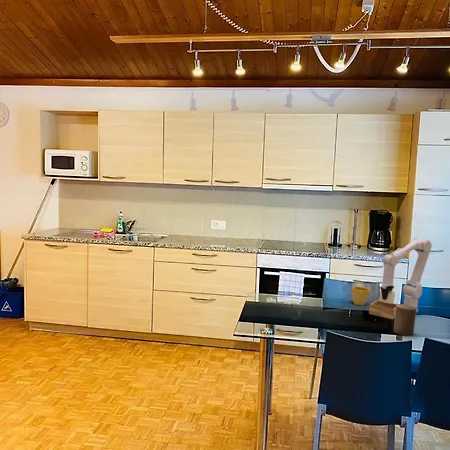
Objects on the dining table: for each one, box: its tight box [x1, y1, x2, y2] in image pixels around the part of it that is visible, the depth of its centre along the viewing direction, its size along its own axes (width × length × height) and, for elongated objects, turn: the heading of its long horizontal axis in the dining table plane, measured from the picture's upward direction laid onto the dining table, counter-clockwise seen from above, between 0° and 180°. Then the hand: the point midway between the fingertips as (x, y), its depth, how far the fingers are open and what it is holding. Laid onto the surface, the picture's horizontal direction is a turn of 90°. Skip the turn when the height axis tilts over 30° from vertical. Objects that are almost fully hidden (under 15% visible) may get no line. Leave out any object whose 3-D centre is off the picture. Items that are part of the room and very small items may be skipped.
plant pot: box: [351, 285, 370, 306], centre depth 288 cm, size 10×10×10 cm
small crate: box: [378, 290, 396, 304], centre depth 268 cm, size 5×7×6 cm
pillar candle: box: [393, 303, 417, 337], centre depth 238 cm, size 10×10×15 cm
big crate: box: [368, 299, 398, 320], centre depth 270 cm, size 14×14×6 cm
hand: (385, 298), depth 269 cm, fingers closed on small crate, 5 cm apart
